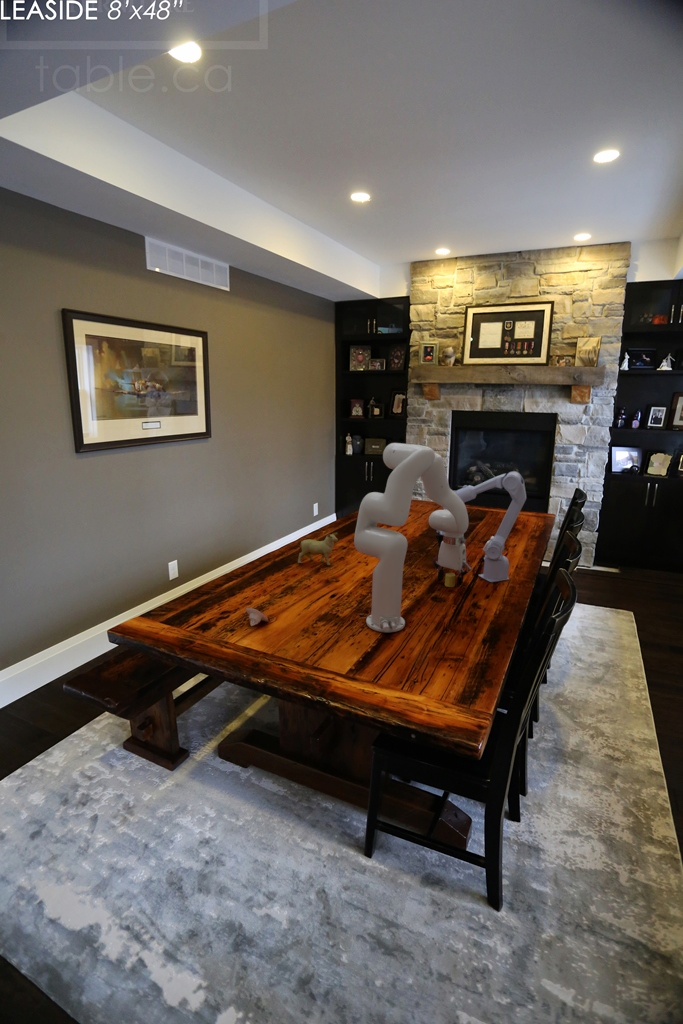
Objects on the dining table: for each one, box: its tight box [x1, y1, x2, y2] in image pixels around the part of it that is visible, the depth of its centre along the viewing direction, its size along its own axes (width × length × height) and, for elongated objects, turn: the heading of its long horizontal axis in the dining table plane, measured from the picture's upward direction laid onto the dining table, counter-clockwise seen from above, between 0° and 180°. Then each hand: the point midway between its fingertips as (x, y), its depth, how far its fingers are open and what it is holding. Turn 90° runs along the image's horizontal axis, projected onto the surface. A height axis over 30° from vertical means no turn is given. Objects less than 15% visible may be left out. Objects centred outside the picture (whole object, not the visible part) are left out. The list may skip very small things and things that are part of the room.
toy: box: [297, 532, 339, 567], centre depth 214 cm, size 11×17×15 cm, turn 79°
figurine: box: [482, 535, 495, 561], centre depth 223 cm, size 8×8×12 cm
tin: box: [444, 572, 456, 588], centre depth 195 cm, size 4×4×4 cm
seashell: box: [245, 607, 269, 627], centre depth 160 cm, size 8×5×8 cm
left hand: (449, 582), depth 196 cm, fingers open, 7 cm apart
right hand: (447, 553), depth 210 cm, fingers open, 7 cm apart
